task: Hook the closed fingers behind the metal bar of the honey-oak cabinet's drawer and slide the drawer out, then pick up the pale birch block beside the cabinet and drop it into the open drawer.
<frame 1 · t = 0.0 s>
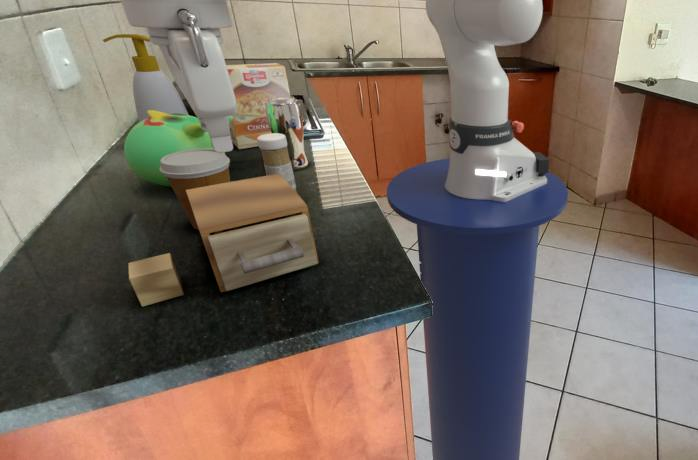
hand: (216, 139, 50), 20 cm above the counter, tool pointing down, fingers open, 8 cm apart
soap bottle: (174, 150, 106), on the counter
sprinkles bottle: (287, 205, 82), on the counter
block: (162, 292, 57), on the counter
toy bird: (192, 182, 89), on the counter
disposable coffee cup: (214, 223, 74), on the counter
cabinet: (260, 254, 66), on the counter
drawer: (260, 239, 61), point 5 cm above the counter, slide at 0.5 cm
coffeecake box: (266, 142, 115), on the counter
beer glass: (294, 166, 100), on the counter
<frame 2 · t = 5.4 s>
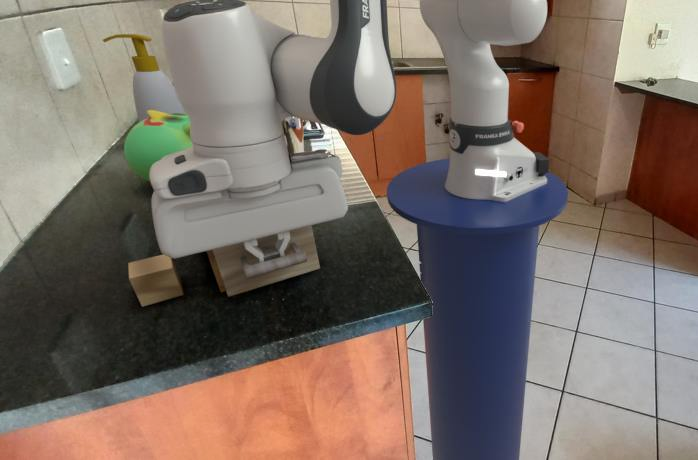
hand: (272, 262, 55), 5 cm above the counter, tool pointing down, fingers closed
drawer: (262, 243, 60), point 5 cm above the counter, slide at 1.9 cm, touching gripper
everything else where it was.
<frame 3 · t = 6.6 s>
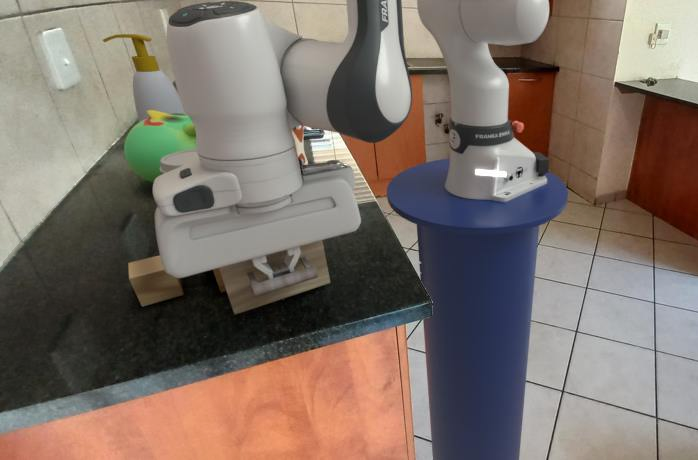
hand: (282, 279, 52), 5 cm above the counter, tool pointing down, fingers closed, pressing on drawer
drawer: (270, 257, 57), point 5 cm above the counter, slide at 6.3 cm, touching gripper
everything else where it was.
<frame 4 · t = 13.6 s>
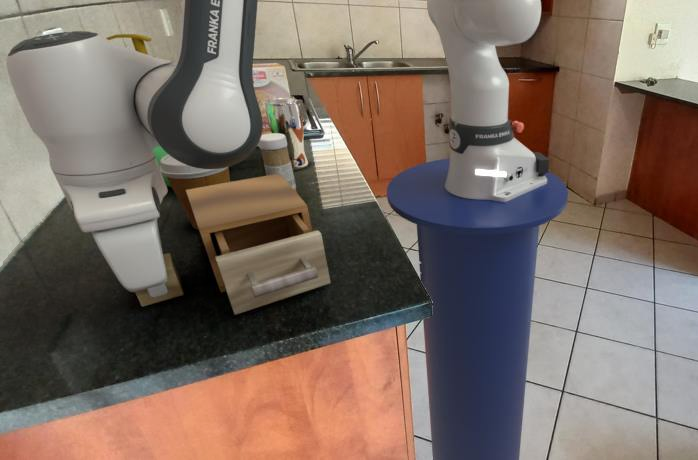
hand: (158, 282, 56), 2 cm above the counter, tool pointing down, fingers closed on block, 4 cm apart
block: (162, 292, 57), on the counter, touching gripper
drawer: (270, 257, 57), point 5 cm above the counter, slide at 6.4 cm
everything else where it was.
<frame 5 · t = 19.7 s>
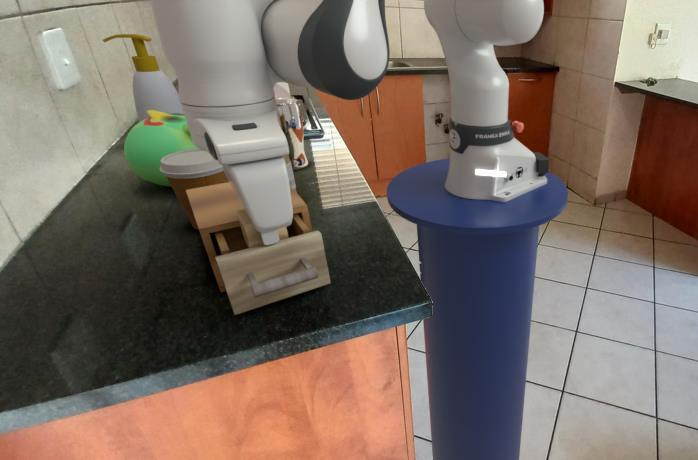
hand: (265, 232, 54), 9 cm above the counter, tool pointing down, fingers closed on block, 4 cm apart
block: (267, 243, 55), point 7 cm above the counter, touching gripper
everything else where it was.
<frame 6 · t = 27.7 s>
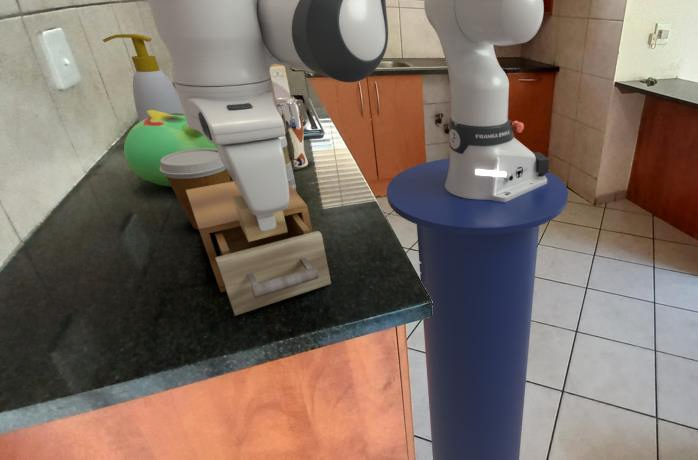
hand: (262, 218, 53), 11 cm above the counter, tool pointing down, fingers closed on block, 4 cm apart
block: (264, 230, 54), point 9 cm above the counter, touching gripper
everything else where it was.
when the fingers open (12 cm above the counter, at t = 35.2 s): block drops 8 cm, resting on drawer.
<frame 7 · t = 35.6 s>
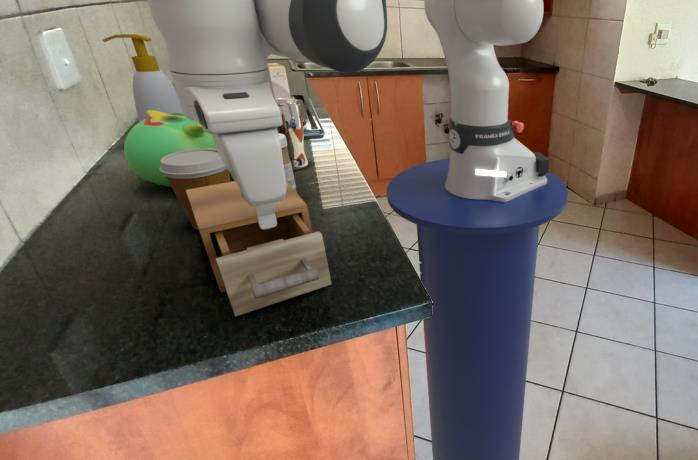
hand: (258, 211, 53), 12 cm above the counter, tool pointing down, fingers open, 8 cm apart
block: (276, 277, 57), point 2 cm above the counter, touching drawer
drawer: (271, 258, 56), point 5 cm above the counter, slide at 6.8 cm, touching block
everything else where it was.
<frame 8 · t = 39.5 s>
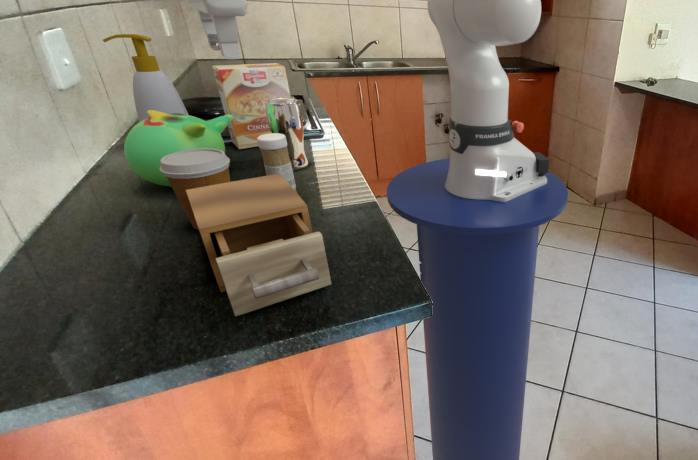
hand: (225, 54, 53), 29 cm above the counter, tool pointing down, fingers open, 8 cm apart
nothing on the counter moved.
at the end: drawer slide at 6.8 cm; block inside the target area in the cabinet (6.3 cm from its centre), point 2.1 cm above the cabinet's base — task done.
